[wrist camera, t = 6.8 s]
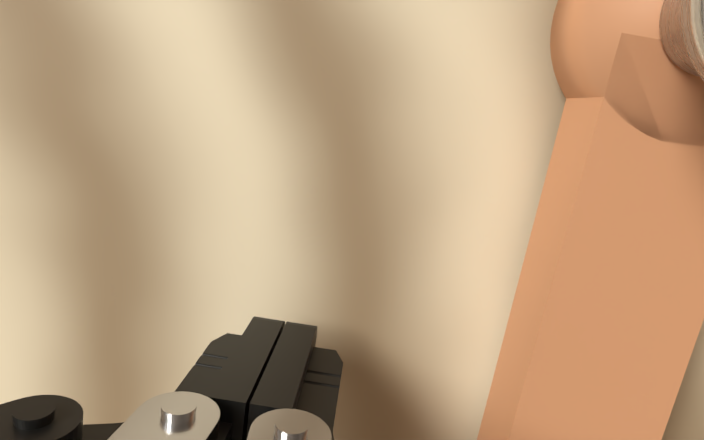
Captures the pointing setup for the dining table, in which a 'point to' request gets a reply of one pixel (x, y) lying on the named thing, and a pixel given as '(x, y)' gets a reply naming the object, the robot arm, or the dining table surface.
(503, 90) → the board
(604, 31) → the link
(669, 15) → the silver metal ball
